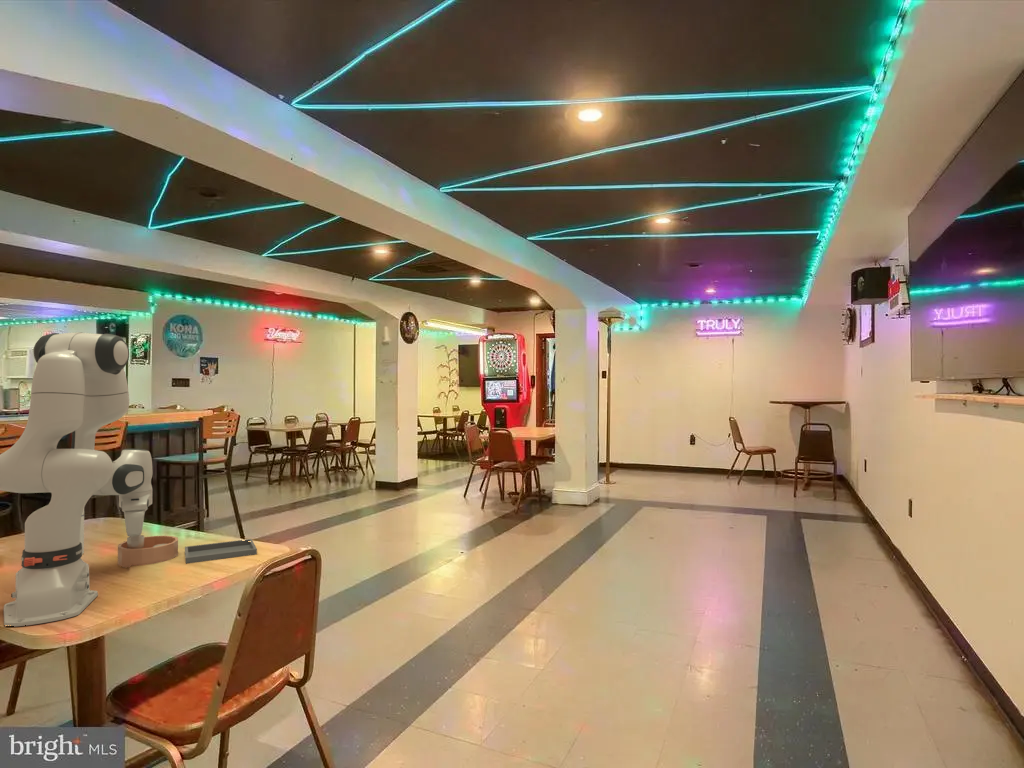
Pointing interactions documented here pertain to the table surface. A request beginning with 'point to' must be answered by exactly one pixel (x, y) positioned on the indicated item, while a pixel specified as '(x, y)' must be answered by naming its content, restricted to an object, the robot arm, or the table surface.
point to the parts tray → (219, 551)
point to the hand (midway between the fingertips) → (135, 543)
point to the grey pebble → (141, 542)
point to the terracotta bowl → (148, 551)
